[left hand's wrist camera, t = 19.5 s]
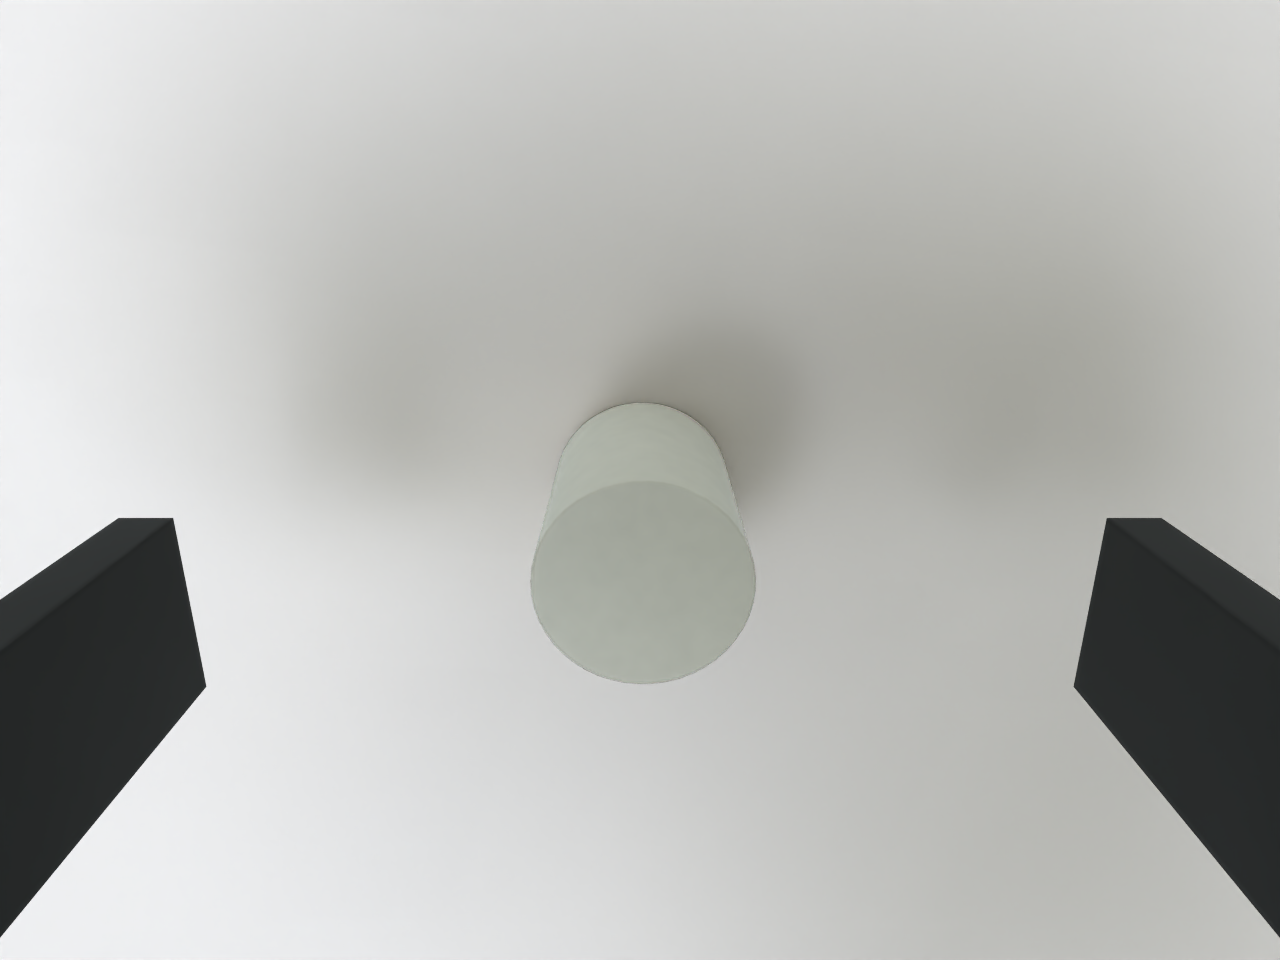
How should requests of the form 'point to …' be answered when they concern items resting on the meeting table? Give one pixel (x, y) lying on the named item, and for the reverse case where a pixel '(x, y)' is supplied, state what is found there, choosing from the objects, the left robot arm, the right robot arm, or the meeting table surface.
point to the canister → (642, 549)
